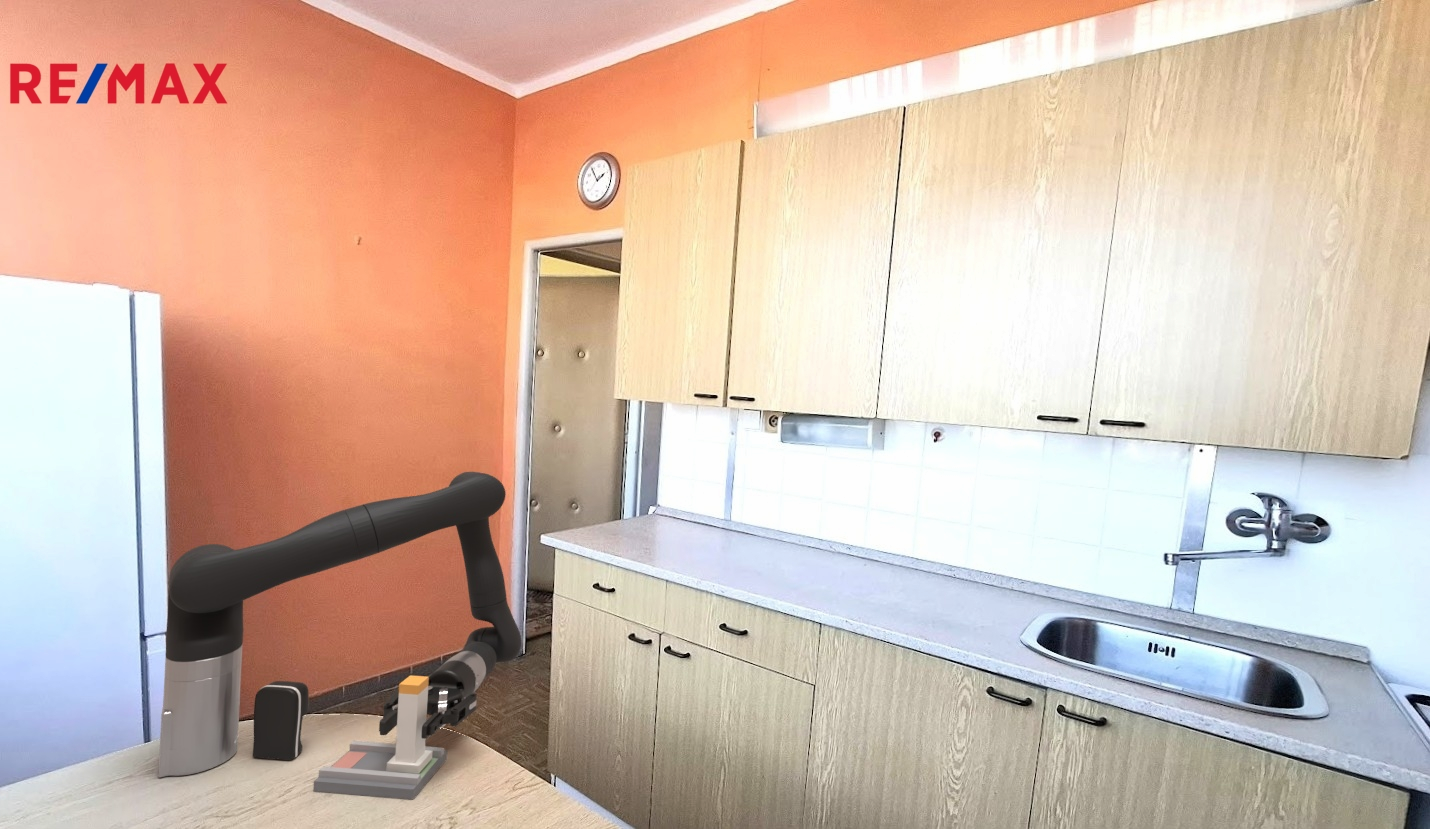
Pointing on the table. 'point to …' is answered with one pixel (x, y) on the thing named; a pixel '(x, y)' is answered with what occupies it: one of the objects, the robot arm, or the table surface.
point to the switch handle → (411, 727)
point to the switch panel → (375, 772)
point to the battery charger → (279, 720)
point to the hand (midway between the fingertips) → (403, 730)
